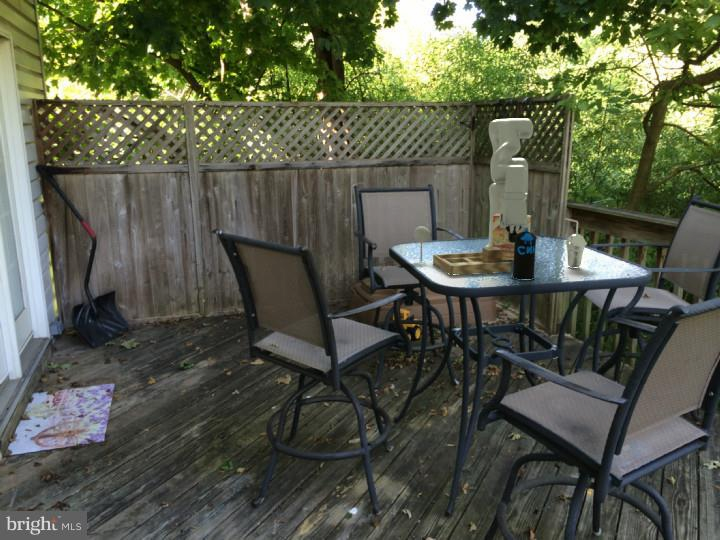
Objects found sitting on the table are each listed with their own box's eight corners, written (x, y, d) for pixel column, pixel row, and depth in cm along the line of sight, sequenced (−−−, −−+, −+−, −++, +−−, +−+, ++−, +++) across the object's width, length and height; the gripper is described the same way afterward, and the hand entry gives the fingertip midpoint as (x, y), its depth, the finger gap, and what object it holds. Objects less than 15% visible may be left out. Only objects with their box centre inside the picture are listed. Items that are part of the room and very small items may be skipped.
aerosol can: (509, 275, 225) (511, 224, 220) (529, 275, 225) (532, 224, 221) (516, 281, 217) (519, 228, 212) (537, 280, 217) (541, 227, 213)
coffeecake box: (491, 259, 254) (492, 215, 250) (494, 256, 261) (496, 213, 256) (526, 262, 248) (528, 216, 244) (528, 259, 254) (531, 214, 250)
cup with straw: (574, 270, 232) (578, 220, 227) (557, 266, 240) (560, 218, 235) (589, 268, 236) (593, 219, 231) (572, 264, 243) (575, 216, 239)
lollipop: (430, 258, 257) (431, 225, 254) (427, 262, 251) (427, 227, 247) (415, 257, 260) (415, 224, 256) (411, 261, 253) (411, 227, 250)
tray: (488, 260, 252) (488, 251, 251) (510, 272, 230) (511, 262, 230) (433, 263, 247) (433, 254, 246) (450, 275, 226) (450, 265, 225)
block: (495, 261, 239) (496, 246, 238) (501, 264, 233) (502, 249, 232) (481, 261, 238) (482, 247, 237) (487, 265, 232) (488, 250, 231)
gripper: (527, 195, 236) (525, 240, 240) (493, 196, 233) (491, 241, 237) (536, 197, 229) (534, 243, 232) (500, 198, 226) (499, 244, 230)
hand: (512, 242), depth 235 cm, fingers closed
